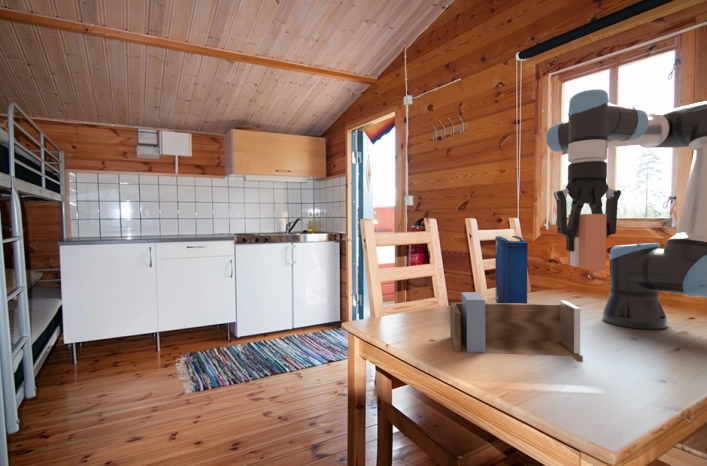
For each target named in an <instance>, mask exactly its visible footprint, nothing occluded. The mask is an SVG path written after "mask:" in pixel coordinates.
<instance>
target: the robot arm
mask: <svg viewBox="0 0 707 466" xmlns="http://www.w3.org/2000/svg"><path fill="white" fill-rule="evenodd" d="M567 116H568V120H565V121H561V122H559V123H557V124H553V125H551V126H550V127H549V128H548V130H547V131H546V134H545V135H546V136H545V139H546V141H545V142H546V145H547V147H548V148H549V149H550V150H551V151H553V152H566V151H568V153H567V155H568V157H567V160H568V162H569V163H570V164H568V165H567V184H566V186H565V188H564V189H561V190H557V191H556V190H555V191H554V192H553V197H554V199H555V201H556V228H557V229H556V232H557V233H558V235H561V236H562V235H563V236H565V241H566V242H565V243H566V244H565V247H566V248H565V250H566V251H567V252H568V251H570V265H571V266H570V265H569V266H570V267H574V266H575V267H574V268H578V267H579V238H578V237H575V235H576V231H577V227H578V223H579V214H582V209H583V207H584V205H585V204H588V207H589V209H590V212H591V214H604V213H603V211H604V210H603V208H602V207H603V201H602V198H603V197H604V196H605V198H606V202H605V214H607V218H606V238H608V237H610V236H611V235H615V234H616V233H617V221H618V219H617V218H618V205H619V202H618V201H619V199H620V197H621V194H622V191H621V190H620V189H613V188H610V187H609V185H608V183H607V177H608V163H607V162H606V161H605V160H607V159H608V148H611V147H624V146H638V145H639V146H640V147H642V148H649V149H650V148H687V147H688V148H689V149H690V150H691V151H692V152H693V156H692V161H691V166H690V169H689V175H688V180H687V183H686V187H685V192H684V196H683V200H682V205H681V208H680V213H679V219H678V222H677V226H676V231H675V235H673V236H671V237H669V238H668V239H667V240H666V243H665V247H664V248H661V246H660V244H659V243H658V242H652V243H651V242H649V243H634V244H622V245H620V244H619V245H614V246H612V247H611V249H610V253H609V260H608V261H609V296H608V299H607V300H606V303H605V306H604V308H603V311H602V320H603V321H604V322H607V323H609V324H613V325H615V326H620V327H623V328H624V327H626V328H632V329H633V328H634V329H642V330H662V329H665V328H667V327H668V326H667V325H668V324H667V323H668V318H667V316H666V313H665V310H664V308H663V305H662V302H661V300H660V292H665V293H672V294H677V295H678V294H679V295H685V296H689V297H691V298H696V297H697V298H698V297H699V298H707V100H704V101H700V102H695V103H692V104H687V105H683V106H680V107H677V108H673V109H670V110H666V111H664V112H663V111H662V112H659V113H650V114H647V113H646V112H645V111H644V110H643V109H642V108H641V109H640V108H636V107H633V106H631V105H629V106H626V105H618V104H613V103H610V98H609V93H608V92H607V90H605V89H599V88H597V89H589V90H583V91H579V92H577V93H575V94H573V95H572V96H571V97H570V99H569V106H568V113H567ZM568 196H569V197H570V199H572V200H571V205H570V207H571V209H570V213H569V215H570V217H569V221H568V208H567V207H568V206H567V198H568Z"/></svg>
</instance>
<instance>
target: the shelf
mask: <svg viewBox="0 0 707 466" xmlns="http://www.w3.org/2000/svg"><path fill="white" fill-rule="evenodd" d="M449 311H450V312H449V313H450V316H449V317H450V321H449V322H450V328H449V331H450V334H449V335H450V340H451V343H452V346H453V350H454V353H471V354H472V353H473V354H474V353H476V354H499V355H500V354H501V355H530V356H531V355H532V356H534V355H535V356H555V357H556V356H557V357H559V356H561V357H564V356H565V357H572V358H573V359H574V361H578V362H579V361H582V362H583V361H584V360H583V359H584V356H583V355H582V354H581V353H580V354H579V353H573V352H572V351H571V350H570V349H568V348H567V347H566V346H565V345H564V344H562V343H561V342H560V303H527V304H523V303H497V302H485V352H467V350H466V348H465V345H464V343H463V340H462V302H453V301H451V302H449Z"/></svg>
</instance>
